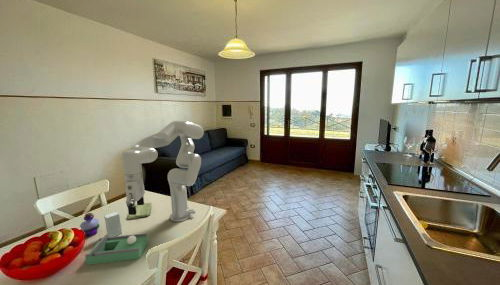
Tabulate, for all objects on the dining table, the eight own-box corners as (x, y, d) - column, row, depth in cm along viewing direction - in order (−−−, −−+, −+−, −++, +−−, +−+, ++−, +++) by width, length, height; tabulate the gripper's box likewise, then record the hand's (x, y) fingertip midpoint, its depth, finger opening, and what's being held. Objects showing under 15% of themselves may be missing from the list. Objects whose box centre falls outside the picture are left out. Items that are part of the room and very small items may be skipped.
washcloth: (127, 221, 128) (126, 216, 128) (132, 208, 144) (132, 203, 144) (150, 217, 133) (149, 212, 132) (153, 204, 149) (152, 200, 148)
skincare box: (119, 230, 118) (116, 211, 116) (122, 233, 115) (119, 213, 113) (106, 235, 113) (104, 215, 111) (109, 238, 110) (106, 218, 108)
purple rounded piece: (102, 233, 115) (99, 213, 113) (82, 240, 109) (79, 220, 107) (99, 227, 121) (96, 208, 119) (80, 233, 115) (77, 213, 113)
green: (147, 241, 108) (146, 230, 107) (139, 258, 96) (138, 246, 95) (101, 247, 104) (99, 235, 103) (86, 264, 92) (84, 252, 91)
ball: (137, 240, 103) (137, 233, 102) (135, 245, 99) (134, 238, 98) (129, 241, 102) (128, 234, 101) (125, 246, 98) (124, 239, 97)
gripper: (134, 181, 90) (137, 218, 93) (148, 170, 107) (150, 201, 110) (115, 182, 89) (120, 219, 92) (132, 170, 106) (135, 201, 109)
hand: (136, 209), depth 101 cm, fingers open, 9 cm apart
